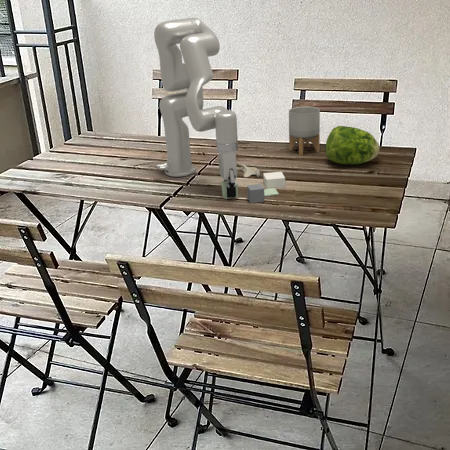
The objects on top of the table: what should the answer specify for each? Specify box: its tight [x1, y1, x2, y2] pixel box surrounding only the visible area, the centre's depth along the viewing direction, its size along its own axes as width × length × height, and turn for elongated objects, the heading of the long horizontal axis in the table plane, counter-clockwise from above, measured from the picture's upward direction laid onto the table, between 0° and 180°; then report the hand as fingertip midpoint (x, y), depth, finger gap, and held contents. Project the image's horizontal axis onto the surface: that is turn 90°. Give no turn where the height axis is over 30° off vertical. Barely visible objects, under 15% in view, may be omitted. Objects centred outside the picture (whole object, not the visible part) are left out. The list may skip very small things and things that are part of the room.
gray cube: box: [246, 183, 266, 204], centre depth 223 cm, size 5×5×5 cm
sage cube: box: [221, 180, 239, 200], centre depth 228 cm, size 5×5×5 cm
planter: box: [288, 106, 321, 156], centre depth 267 cm, size 13×13×18 cm
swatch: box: [264, 188, 280, 198], centre depth 229 cm, size 6×6×1 cm
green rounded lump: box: [325, 125, 381, 166], centre depth 251 cm, size 16×21×15 cm
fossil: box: [239, 163, 261, 178], centre depth 249 cm, size 7×11×3 cm, turn 10°
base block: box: [262, 171, 286, 189], centre depth 236 cm, size 7×7×4 cm
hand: (230, 193), depth 229 cm, fingers closed on sage cube, 5 cm apart
